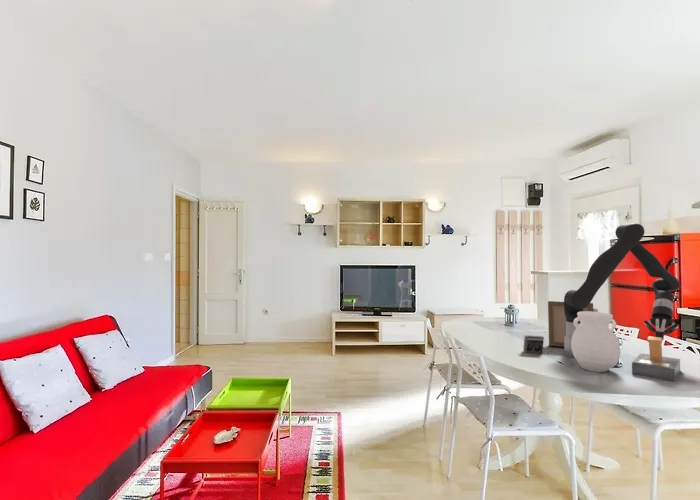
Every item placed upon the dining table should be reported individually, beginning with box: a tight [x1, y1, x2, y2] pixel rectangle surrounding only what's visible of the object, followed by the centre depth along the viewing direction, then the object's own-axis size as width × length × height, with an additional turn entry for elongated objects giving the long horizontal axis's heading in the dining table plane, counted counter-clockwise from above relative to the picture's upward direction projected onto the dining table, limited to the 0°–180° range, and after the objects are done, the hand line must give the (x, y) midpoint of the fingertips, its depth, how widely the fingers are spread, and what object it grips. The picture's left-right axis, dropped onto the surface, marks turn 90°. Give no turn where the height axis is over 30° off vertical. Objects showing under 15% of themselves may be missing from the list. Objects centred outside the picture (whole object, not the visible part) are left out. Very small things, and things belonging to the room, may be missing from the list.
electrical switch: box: [523, 334, 545, 355], centre depth 198 cm, size 9×5×9 cm, turn 78°
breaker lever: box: [647, 335, 663, 362], centre depth 165 cm, size 5×3×11 cm, turn 44°
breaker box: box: [631, 352, 681, 382], centre depth 167 cm, size 14×22×5 cm, turn 134°
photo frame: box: [547, 300, 594, 348], centre depth 214 cm, size 15×22×25 cm
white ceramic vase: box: [571, 311, 621, 373], centre depth 170 cm, size 19×18×25 cm
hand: (659, 339), depth 173 cm, fingers closed
